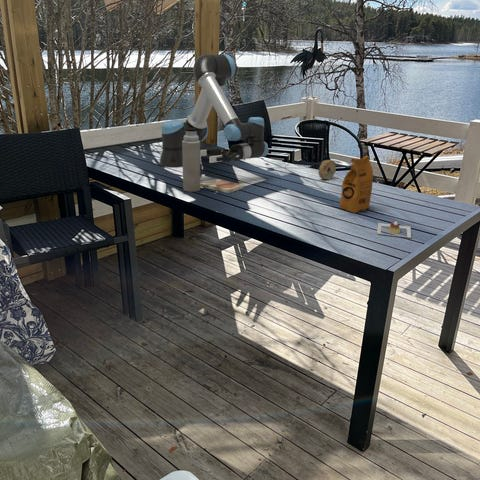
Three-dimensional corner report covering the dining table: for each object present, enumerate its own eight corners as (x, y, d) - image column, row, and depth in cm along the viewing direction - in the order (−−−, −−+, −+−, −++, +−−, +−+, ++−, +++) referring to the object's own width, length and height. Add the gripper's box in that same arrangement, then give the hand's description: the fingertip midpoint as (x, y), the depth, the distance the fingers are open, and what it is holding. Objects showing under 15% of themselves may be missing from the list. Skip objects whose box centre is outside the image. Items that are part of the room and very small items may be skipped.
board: (188, 183, 238) (188, 180, 238) (204, 178, 248) (204, 175, 247) (228, 193, 226) (228, 189, 225) (243, 187, 235) (243, 183, 234)
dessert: (377, 225, 192) (379, 213, 191) (410, 229, 189) (412, 217, 188) (376, 236, 182) (378, 224, 180) (410, 240, 179) (412, 228, 177)
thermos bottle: (188, 185, 235) (187, 126, 224) (203, 188, 232) (203, 128, 221) (179, 190, 228) (178, 128, 218) (194, 192, 225) (194, 130, 215)
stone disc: (330, 176, 258) (332, 157, 254) (335, 178, 255) (337, 159, 252) (316, 179, 252) (318, 160, 248) (321, 181, 249) (323, 161, 246)
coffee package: (335, 208, 210) (341, 156, 201) (353, 202, 217) (359, 153, 209) (354, 214, 203) (360, 161, 194) (372, 208, 210) (379, 157, 202)
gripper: (254, 165, 230) (216, 170, 219) (225, 154, 249) (188, 159, 238) (255, 149, 227) (216, 153, 216) (225, 139, 246) (188, 143, 235)
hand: (201, 156), depth 227 cm, fingers open, 13 cm apart
